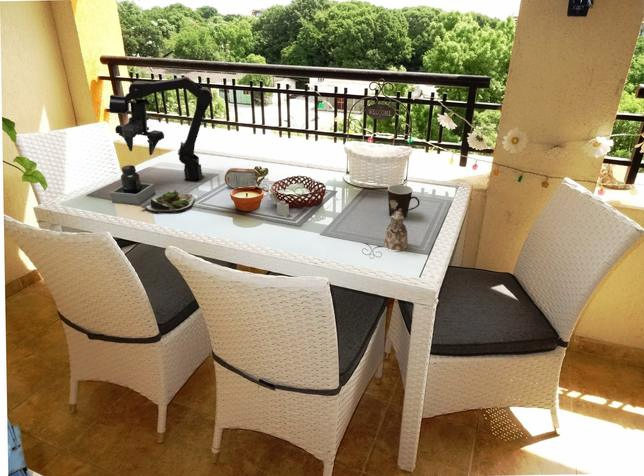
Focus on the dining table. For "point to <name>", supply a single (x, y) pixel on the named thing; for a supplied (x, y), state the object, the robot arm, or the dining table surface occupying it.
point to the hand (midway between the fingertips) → (140, 153)
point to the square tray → (133, 195)
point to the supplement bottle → (130, 180)
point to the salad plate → (170, 203)
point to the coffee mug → (400, 199)
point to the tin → (240, 178)
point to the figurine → (396, 232)
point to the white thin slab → (280, 205)
